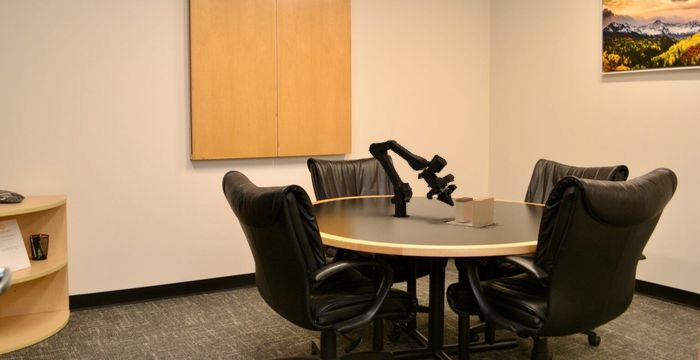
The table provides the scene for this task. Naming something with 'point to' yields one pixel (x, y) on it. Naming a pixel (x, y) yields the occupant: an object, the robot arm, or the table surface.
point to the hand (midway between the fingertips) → (453, 205)
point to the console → (479, 213)
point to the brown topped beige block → (463, 209)
